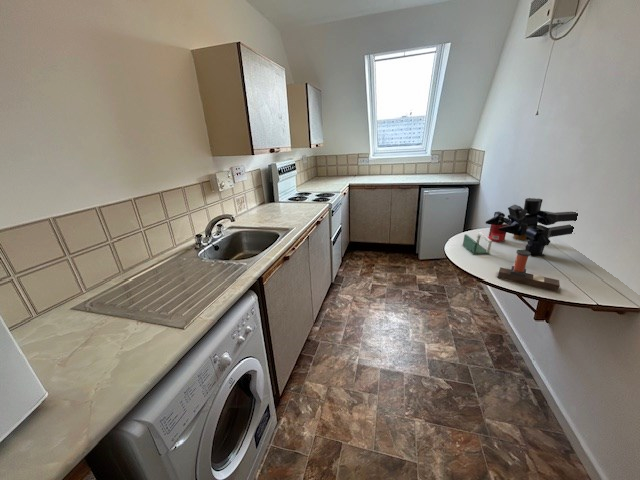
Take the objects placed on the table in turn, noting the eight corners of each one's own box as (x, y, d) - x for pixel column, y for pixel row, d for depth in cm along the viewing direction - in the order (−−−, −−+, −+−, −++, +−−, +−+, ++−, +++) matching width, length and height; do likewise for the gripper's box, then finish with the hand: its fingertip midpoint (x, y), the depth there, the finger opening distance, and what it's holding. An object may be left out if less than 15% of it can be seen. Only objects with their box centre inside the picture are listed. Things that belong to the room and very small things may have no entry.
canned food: (507, 242, 150) (511, 223, 145) (492, 242, 150) (497, 224, 146) (498, 237, 157) (503, 219, 152) (485, 237, 157) (489, 219, 153)
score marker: (510, 274, 111) (515, 253, 108) (511, 268, 116) (516, 248, 112) (524, 277, 108) (531, 256, 105) (525, 271, 113) (531, 250, 109)
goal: (477, 244, 147) (479, 232, 145) (489, 254, 136) (492, 240, 134) (462, 245, 148) (464, 232, 145) (473, 254, 137) (475, 241, 134)
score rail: (497, 277, 115) (498, 271, 114) (498, 272, 119) (500, 266, 118) (557, 292, 104) (559, 285, 102) (556, 286, 107) (559, 279, 106)
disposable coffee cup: (519, 234, 158) (525, 215, 154) (534, 240, 150) (540, 220, 145) (505, 236, 157) (510, 217, 153) (519, 242, 148) (525, 222, 144)
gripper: (511, 199, 133) (481, 204, 133) (543, 210, 116) (508, 216, 116) (508, 220, 138) (479, 225, 138) (538, 233, 121) (504, 239, 121)
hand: (491, 225), depth 128 cm, fingers open, 9 cm apart
